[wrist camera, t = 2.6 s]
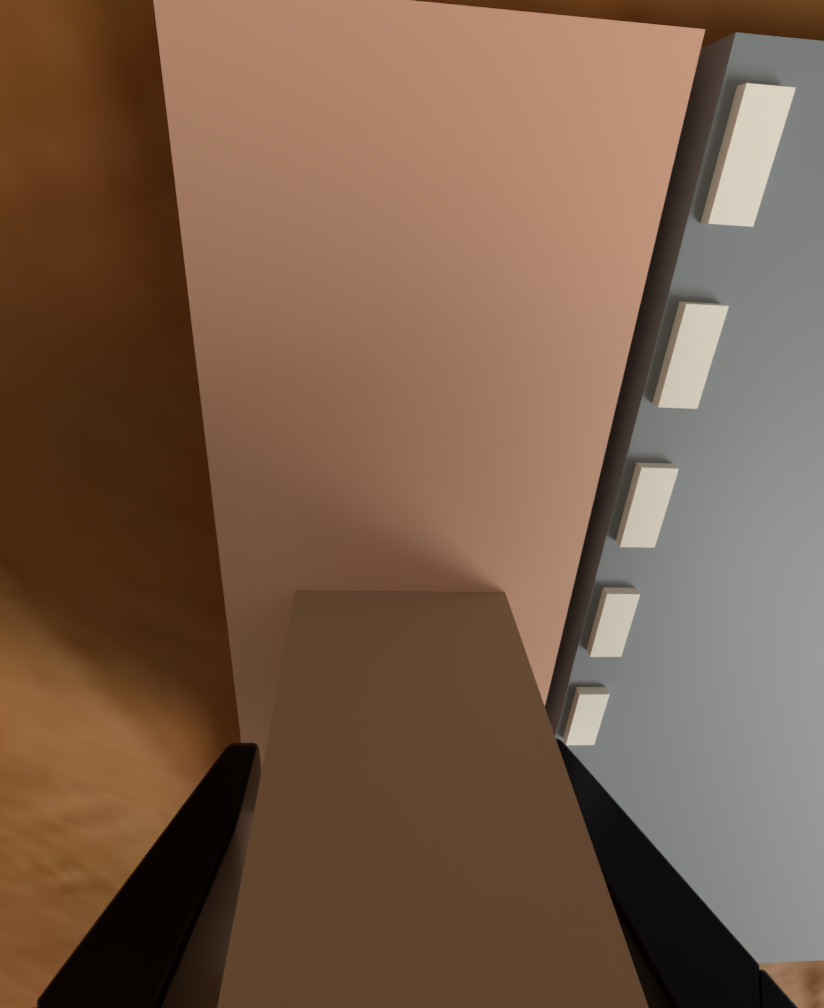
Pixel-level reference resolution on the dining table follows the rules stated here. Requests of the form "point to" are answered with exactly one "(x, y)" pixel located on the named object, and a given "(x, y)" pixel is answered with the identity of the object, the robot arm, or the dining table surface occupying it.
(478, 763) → the stub
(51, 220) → the dining table surface
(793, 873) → the board
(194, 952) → the robot arm
